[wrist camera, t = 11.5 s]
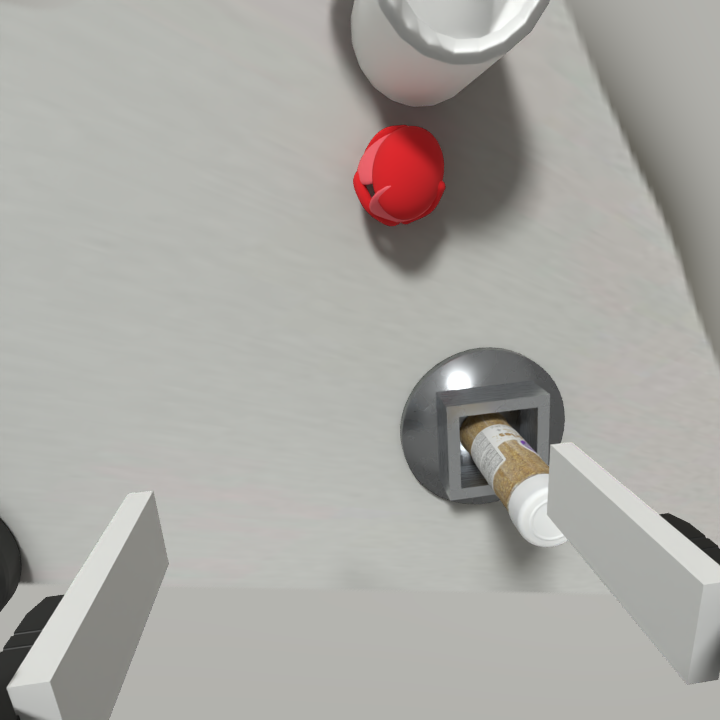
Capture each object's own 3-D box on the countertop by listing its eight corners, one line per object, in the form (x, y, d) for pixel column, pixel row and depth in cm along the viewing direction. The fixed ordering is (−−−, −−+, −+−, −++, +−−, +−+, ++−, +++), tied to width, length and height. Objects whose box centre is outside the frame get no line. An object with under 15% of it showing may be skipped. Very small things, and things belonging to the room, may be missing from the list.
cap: (399, 257, 37) (466, 212, 33) (342, 207, 33) (410, 151, 30) (399, 193, 41) (458, 148, 38) (349, 143, 38) (409, 89, 35)
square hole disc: (405, 507, 46) (415, 537, 42) (394, 357, 42) (404, 373, 38) (556, 487, 48) (581, 514, 43) (561, 338, 43) (589, 352, 39)
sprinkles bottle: (515, 416, 44) (601, 499, 31) (493, 459, 45) (567, 557, 32) (470, 400, 43) (539, 479, 30) (448, 445, 44) (507, 540, 31)
